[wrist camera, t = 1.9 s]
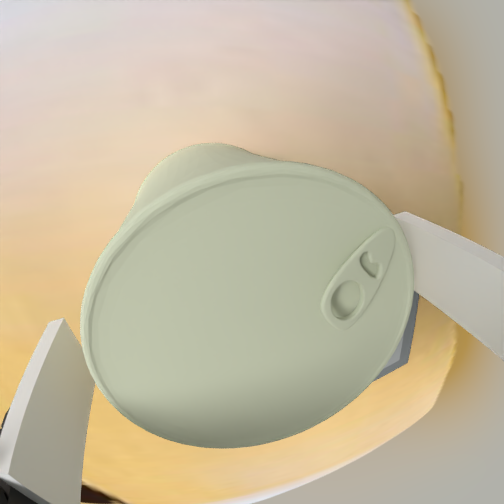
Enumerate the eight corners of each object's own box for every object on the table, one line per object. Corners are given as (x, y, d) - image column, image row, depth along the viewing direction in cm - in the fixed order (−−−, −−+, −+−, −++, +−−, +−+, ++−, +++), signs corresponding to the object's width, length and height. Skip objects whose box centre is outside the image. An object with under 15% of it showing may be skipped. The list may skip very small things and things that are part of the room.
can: (313, 214, 19) (456, 314, 8) (216, 314, 20) (266, 475, 9) (207, 109, 15) (284, 52, 4) (103, 233, 16) (23, 386, 5)
